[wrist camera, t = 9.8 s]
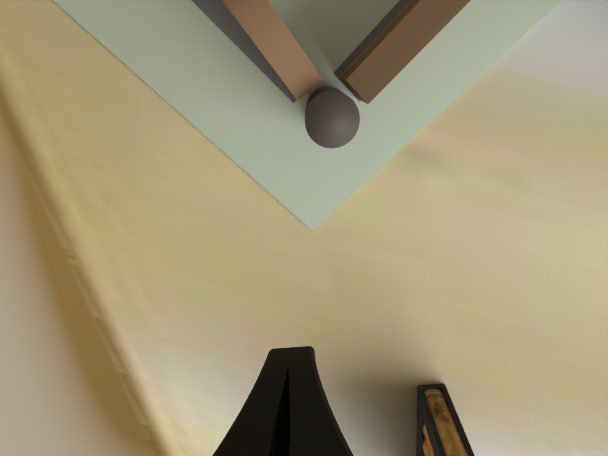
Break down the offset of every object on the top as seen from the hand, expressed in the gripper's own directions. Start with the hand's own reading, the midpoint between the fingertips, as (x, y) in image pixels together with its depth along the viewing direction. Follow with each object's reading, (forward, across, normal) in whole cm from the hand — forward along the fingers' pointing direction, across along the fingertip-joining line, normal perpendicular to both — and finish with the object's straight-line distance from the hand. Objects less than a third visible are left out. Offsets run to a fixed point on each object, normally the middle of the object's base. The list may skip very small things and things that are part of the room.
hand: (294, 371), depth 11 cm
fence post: (+9, -5, -9) cm, 14 cm away
